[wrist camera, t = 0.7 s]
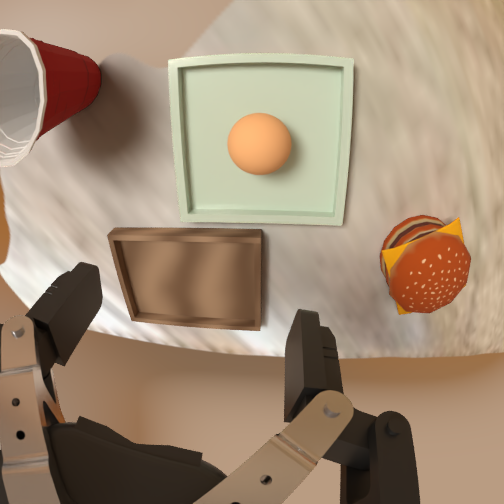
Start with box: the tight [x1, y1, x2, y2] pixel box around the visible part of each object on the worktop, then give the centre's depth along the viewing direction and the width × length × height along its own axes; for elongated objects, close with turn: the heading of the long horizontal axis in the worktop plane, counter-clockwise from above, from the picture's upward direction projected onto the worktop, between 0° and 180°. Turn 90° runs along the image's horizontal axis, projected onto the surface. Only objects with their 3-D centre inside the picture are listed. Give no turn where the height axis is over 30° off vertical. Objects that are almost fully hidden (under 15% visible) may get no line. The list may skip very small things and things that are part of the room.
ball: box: [227, 113, 292, 175], centre depth 23 cm, size 5×5×5 cm
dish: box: [168, 53, 354, 226], centre depth 25 cm, size 15×15×2 cm
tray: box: [107, 228, 261, 331], centre depth 33 cm, size 16×12×2 cm
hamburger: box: [380, 215, 471, 315], centre depth 28 cm, size 9×10×7 cm
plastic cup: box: [0, 29, 101, 167], centre depth 19 cm, size 11×11×12 cm
